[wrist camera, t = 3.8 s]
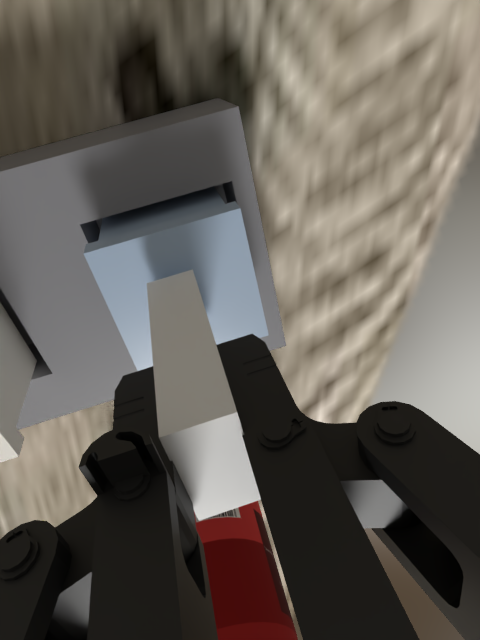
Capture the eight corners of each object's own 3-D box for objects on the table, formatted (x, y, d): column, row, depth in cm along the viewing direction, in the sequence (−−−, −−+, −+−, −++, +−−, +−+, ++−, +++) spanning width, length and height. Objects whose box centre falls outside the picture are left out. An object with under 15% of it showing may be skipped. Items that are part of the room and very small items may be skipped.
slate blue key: (138, 309, 20) (140, 375, 16) (95, 207, 17) (83, 253, 13) (240, 278, 20) (268, 335, 16) (214, 173, 17) (240, 208, 13)
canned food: (121, 512, 29) (116, 724, 20) (219, 453, 28) (263, 646, 19) (186, 555, 33) (208, 747, 24) (274, 505, 32) (331, 684, 23)
